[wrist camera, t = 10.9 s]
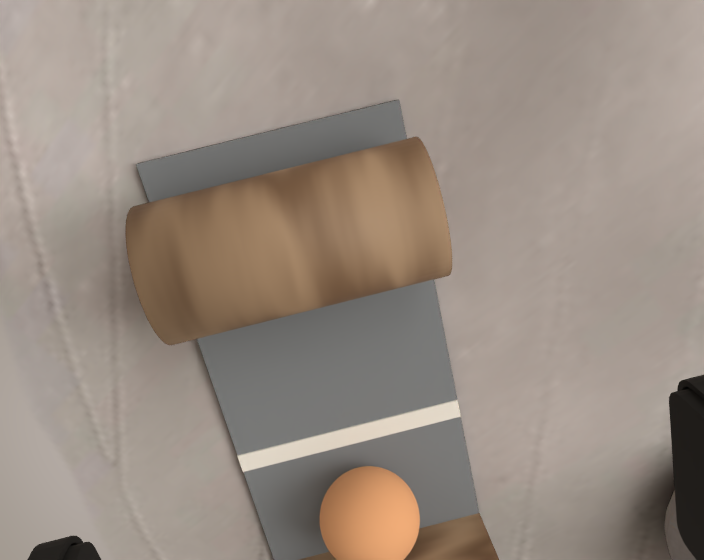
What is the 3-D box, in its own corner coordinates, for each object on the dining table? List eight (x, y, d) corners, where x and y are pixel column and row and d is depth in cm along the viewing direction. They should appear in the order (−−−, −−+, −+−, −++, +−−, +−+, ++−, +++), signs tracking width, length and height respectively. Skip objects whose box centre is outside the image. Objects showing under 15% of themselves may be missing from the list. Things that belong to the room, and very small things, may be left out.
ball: (399, 435, 39) (421, 510, 34) (415, 502, 42) (437, 581, 37) (305, 459, 39) (312, 537, 34) (327, 524, 42) (337, 606, 37)
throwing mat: (398, 99, 33) (399, 100, 33) (481, 527, 44) (483, 532, 43) (137, 163, 33) (135, 165, 33) (282, 578, 43) (282, 584, 43)
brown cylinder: (404, 128, 34) (434, 147, 27) (428, 251, 36) (460, 296, 30) (145, 192, 33) (112, 227, 27) (187, 312, 36) (165, 370, 29)
